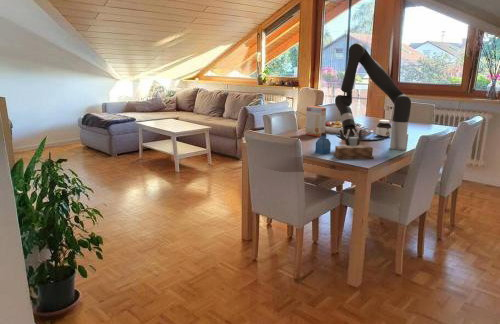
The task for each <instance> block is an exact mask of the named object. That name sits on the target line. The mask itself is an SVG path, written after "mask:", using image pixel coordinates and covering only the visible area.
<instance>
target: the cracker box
mask: <svg viewBox="0 0 500 324" xmlns="http://www.w3.org/2000/svg"><path fill="white" fill-rule="evenodd" d="M305 113H306V114H305V135H307V136H312V137H318V138H321V133H326V132H325V123H326V121H327V119H326V118H327V107H322V106H315V105H308V106H306V112H305Z"/></svg>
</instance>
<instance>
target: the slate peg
mask: <svg viewBox="0 0 500 324" xmlns="http://www.w3.org/2000/svg"><path fill="white" fill-rule="evenodd" d="M347 139H348V142H349V145H348V146H357V139H358V138H356V137H352V136H349V137H348V138H347Z"/></svg>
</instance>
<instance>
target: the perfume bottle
mask: <svg viewBox="0 0 500 324" xmlns="http://www.w3.org/2000/svg"><path fill="white" fill-rule="evenodd" d="M327 136H328V135H327V132H325V133H321V137H318V139H317V140H316V141H315V148H314V149H315V151H314V152H315V154H319V155H328V154H331V146H332V145H331V144H332V143H331V141H330V140H329V138H327Z"/></svg>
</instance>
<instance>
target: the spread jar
mask: <svg viewBox="0 0 500 324" xmlns="http://www.w3.org/2000/svg"><path fill="white" fill-rule="evenodd" d="M390 122H391V121H390V120H388V119H379V123H378V124H377V125H376V127H375V134H376V136H377V137H378V136H380V137H379V138H389V137H391V131H392V124H390Z"/></svg>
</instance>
